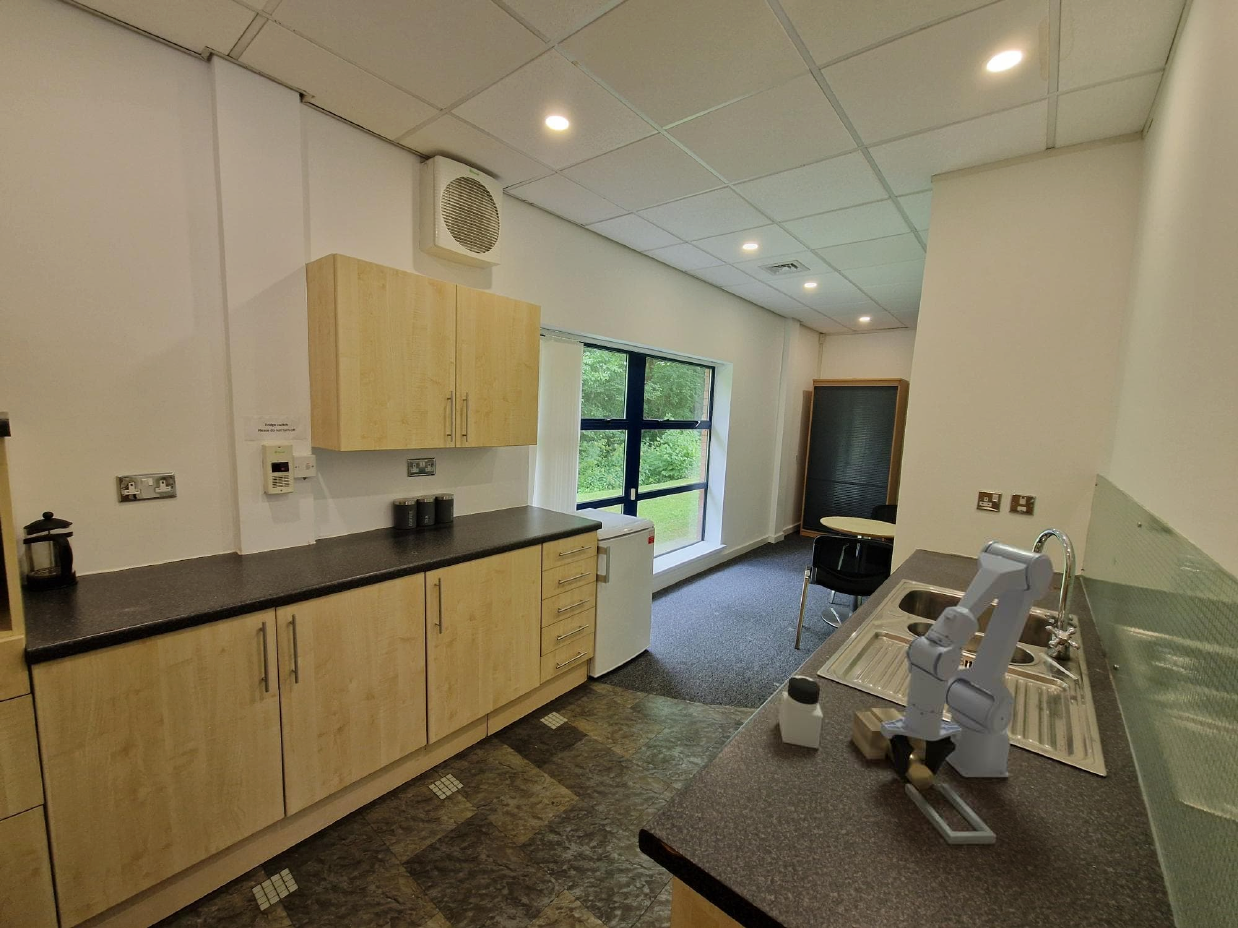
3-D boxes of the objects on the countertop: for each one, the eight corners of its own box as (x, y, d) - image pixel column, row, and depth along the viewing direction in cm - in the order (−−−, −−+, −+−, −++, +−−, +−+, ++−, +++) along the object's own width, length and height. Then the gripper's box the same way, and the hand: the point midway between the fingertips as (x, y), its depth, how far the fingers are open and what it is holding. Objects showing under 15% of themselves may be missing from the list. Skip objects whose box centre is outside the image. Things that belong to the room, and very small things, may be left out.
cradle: (945, 790, 90) (946, 783, 89) (994, 843, 79) (996, 835, 79) (904, 790, 89) (905, 783, 89) (949, 843, 78) (950, 836, 78)
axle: (879, 751, 99) (880, 733, 99) (898, 750, 100) (899, 732, 99) (912, 790, 90) (913, 770, 89) (933, 788, 90) (934, 768, 89)
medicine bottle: (819, 749, 98) (826, 693, 97) (782, 742, 100) (788, 687, 98) (813, 727, 105) (819, 674, 104) (778, 721, 107) (784, 669, 105)
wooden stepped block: (905, 738, 104) (909, 708, 103) (925, 758, 98) (930, 727, 97) (851, 738, 102) (855, 707, 102) (867, 758, 97) (872, 726, 96)
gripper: (945, 691, 95) (935, 756, 97) (874, 690, 94) (865, 755, 95) (975, 714, 88) (963, 783, 90) (898, 713, 87) (888, 783, 88)
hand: (914, 771), depth 92 cm, fingers open, 5 cm apart
